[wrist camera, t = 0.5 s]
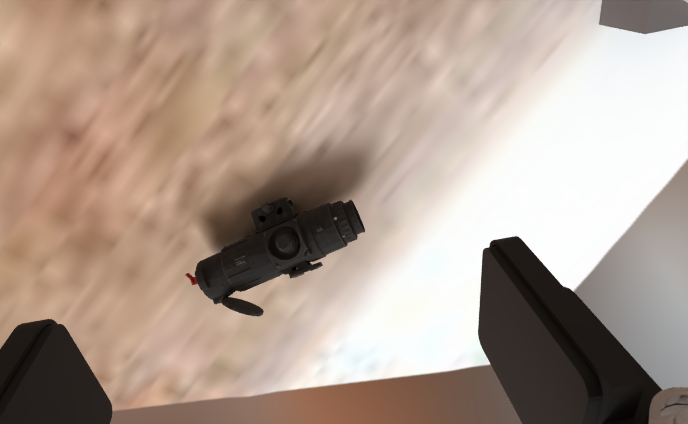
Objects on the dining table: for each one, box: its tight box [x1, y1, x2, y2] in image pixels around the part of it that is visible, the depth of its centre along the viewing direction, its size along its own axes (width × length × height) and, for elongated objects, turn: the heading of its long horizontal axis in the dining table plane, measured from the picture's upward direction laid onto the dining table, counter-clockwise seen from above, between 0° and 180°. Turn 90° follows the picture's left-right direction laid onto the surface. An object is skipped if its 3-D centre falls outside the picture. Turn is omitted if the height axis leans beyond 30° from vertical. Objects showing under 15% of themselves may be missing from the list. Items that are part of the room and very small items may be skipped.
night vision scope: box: [185, 198, 365, 316], centre depth 45 cm, size 8×18×10 cm
